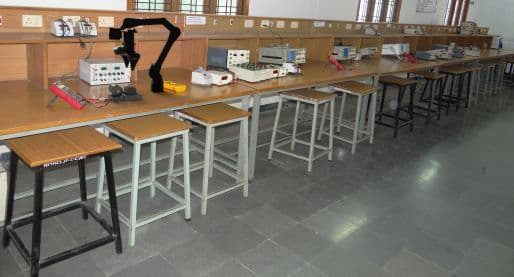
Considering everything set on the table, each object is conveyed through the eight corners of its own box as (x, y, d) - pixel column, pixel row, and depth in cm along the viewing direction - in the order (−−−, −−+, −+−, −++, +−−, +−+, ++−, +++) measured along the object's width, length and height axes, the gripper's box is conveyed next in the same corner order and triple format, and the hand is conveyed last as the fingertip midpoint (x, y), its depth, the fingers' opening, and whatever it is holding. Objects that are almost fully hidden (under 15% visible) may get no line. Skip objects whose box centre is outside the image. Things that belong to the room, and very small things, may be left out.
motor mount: (135, 95, 228) (135, 81, 226) (142, 99, 221) (142, 85, 218) (107, 97, 220) (106, 83, 217) (113, 101, 212) (112, 86, 210)
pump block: (133, 96, 225) (132, 83, 223) (136, 99, 221) (136, 85, 219) (123, 97, 222) (123, 83, 220) (127, 99, 219) (126, 85, 216)
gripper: (108, 38, 233) (109, 66, 238) (119, 43, 219) (120, 72, 223) (128, 39, 239) (129, 66, 244) (140, 43, 225) (141, 72, 230)
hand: (129, 69), depth 235 cm, fingers open, 9 cm apart
